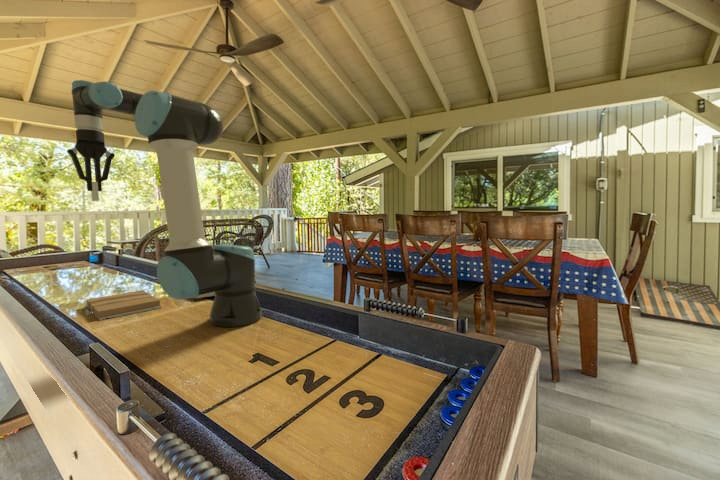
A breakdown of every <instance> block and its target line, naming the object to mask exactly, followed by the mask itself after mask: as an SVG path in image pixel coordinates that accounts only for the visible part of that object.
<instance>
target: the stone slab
mask: <svg viewBox="0 0 720 480" xmlns="http://www.w3.org/2000/svg"><path fill="white" fill-rule="evenodd" d="M209 297H215V292H211V293H207V294H203V295H199V296H196V297H194V298H189V299H188V300H190V299H191V300H190V301H192V300H193V301H192V302H194V301H197V300H199V299H203V298H209Z"/></svg>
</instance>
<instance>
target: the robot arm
mask: <svg viewBox="0 0 720 480" xmlns="http://www.w3.org/2000/svg"><path fill="white" fill-rule="evenodd" d="M70 92H71V95H72V103H73V105H72V107H73V113H74V114H73V115H74V128H75V129H76V130H75V140H76V141H75V142H76V143H75V145H74V147H73V148H71V149H70V148H69V149H67V150H66V153H67V155H68V156H70V158H71V160H72V163H73V165H74V168H75V171H76V173H77V175H78V178H79V180H83V181H85V182H86V190H87V192H91V201H92V202H99V201H100V198H99V192H102V190H103V189H102V186H103V185H102V182H104V181H107V180H108V178H109V174H110V169H111V165H112V161H113V158H114V157H115V156H116V154H115V153H113V152H111V151H109V150H108V149H107V146H106V145H105V133H104V132H103V131H104V121H103V111H104V110H106V111H107V110H108V111H112V112H116V113H121V114H126V115H127V114H128V115H132V116H134V125H135V129H136V131H137V132H138V133H139V135H140V136H142V137H144V138H147V139H148V140H147V141H148V146H149V148H150V149H152V150H153V151H154V152H155V153H156V156H157V162H158V163H157V165H158V170H159V178H160V184H161V192H162V199H163V206H164V212H165V220H166V227H167V232H168V233H167V234H168V241H169V243H168V245H167V246H166V247H165V249H164V250H163V251H164V256H163V257H162V258H161V259H159V260H158V262H157V267H156V277H157V280H158V283H159V285H160V286H161V288H162V290H163V291H164V292H165V293H166V295H167V296H169V297H170V298H172V299H174V300H185V299H188V298H194V297H196V296H199V295H203V294H207V293H211V292H215V296H214V299H213V303H212V306H211V309H210V312H209V323H210V324H211V325H212V326H215V327H219V328H236V327H243V326H247V325H251V324H254V323H256V322H258V321H260V320H261V319H262V317H263V316H262V315H263V314H262V311H263V310H262V307H261V305H260V301H259V299H258V297H257V294H256V274H255V272H256V271H255V269H256V268H255V265H256V264H255V261H256V259H255V253H254V249H253V248H252V247H250V246H247V245H234V244H233V245H231V244H214V245H213V244H212V243H211V242H210V241H208V240H207V239H206V236H205V227H204V221H203V215H202V210H201V209H202V208H201V202H200V201H201V200H200V195H199V186H198V180H197V172H196V165H195V157H194V152H195V151H196V150H197V149H198V147H199V145H201V146H204V145H210V144H213V143H215V142H217V141H218V140H219V139H220V138H221V137H222V134H223V131H224V121H223V119H222V117H221V115H220V114H219V112H218V111H217V110H216V109H215V108H213V107H212V106H210V105H208V104H206V103H204V102H198V101H195V100H191V99H188V98H184V97H181V96H178V95H174V94H171V93H170V92H163V91H158V90H149V91H146V92H145V93H144V94H143V93H139V92H138V93H137V92H133V91H130V90H126V89H123V88H119V87H118V86H117V85H116V84H114V83H112V82H110V81H107V80H106V81H104V80H103V81H98V82H97V81H96V82H93V81H88V80H83V79H80V80H78V79H75V80H73V81H72V82H71V91H70ZM78 153H79V154H80V155H81V156H82V157H83V160H84V170H83V168H82V165H81V163H80V160H79V157H78ZM104 155H105V162H104V165H103V170H101V169H102V168H101V158H102V157H104ZM91 159H93V164H94V176H95V181H92V180H93V176H92V164H91ZM84 171H85V173H84Z"/></svg>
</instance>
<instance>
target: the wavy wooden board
mask: <svg viewBox="0 0 720 480" xmlns="http://www.w3.org/2000/svg"><path fill="white" fill-rule="evenodd" d="M152 296H153V295H151V294H150V293H149V292H147V291H145V290H144V289H143V290H137V291H131V292H125V293H118V294H112V295H111V294H110V295H107V296H100V297H99V296H98V297H93V298H89V299H86V300H85V302H86V305H87V306H88V307H89V308H90V309H91V310H92V311H93V312H94V307H96V306H102V305H107V304H113V303H118V302H124V301H130V300H135V299H141V298H146V297H152Z"/></svg>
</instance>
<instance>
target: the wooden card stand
mask: <svg viewBox="0 0 720 480" xmlns="http://www.w3.org/2000/svg"><path fill="white" fill-rule="evenodd" d="M86 306H87V304H85V307H86ZM87 307H88V306H87ZM87 307H86V308H87ZM88 308H89V307H88ZM88 308H87V309H88ZM157 308H159V309H162V306H161V300H160V299H158V298H157V297H155V296H153V295H152V297H146V298H141V299H135V300H130V301H124V302H118V303H113V304H107V305H102V306H96V307H94V312H93V311H92V310H91V309H90V308H89V309H90V310H91V311H92V312H93V313H94V314H95V315H96V316H95V315H94V314H93V313H92V312H91V311H90V310H89V309H88V310H89V311H90V312H91V313H92V314H93V315H94V316H95V317H96V318H97V319H98V320H99V321H100V320H101V321H103V320H102V319H106V318H111V319H113V318H112V317H115V318H119V317H118V316H120V317H125V316H128V315H129V314H130V315H133V314H140V313H144V311H145V312H149V311H148V310H150V311H154V310H158V309H157ZM153 309H154V310H153ZM124 315H125V316H124ZM106 320H107V319H106Z"/></svg>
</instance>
